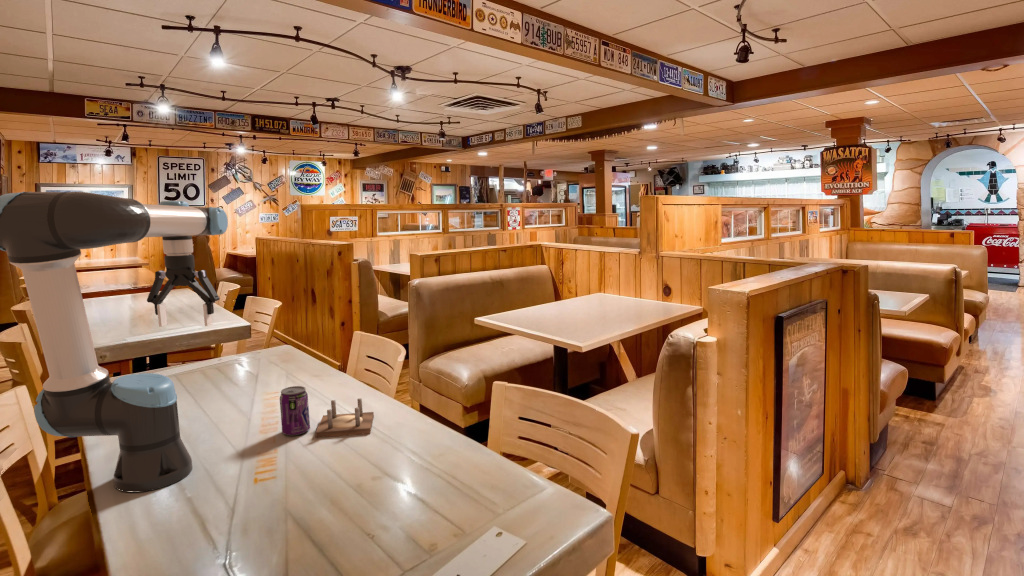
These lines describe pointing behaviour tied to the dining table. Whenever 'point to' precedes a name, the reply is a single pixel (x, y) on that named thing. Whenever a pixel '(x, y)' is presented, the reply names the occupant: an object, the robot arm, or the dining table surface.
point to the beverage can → (294, 410)
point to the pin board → (345, 422)
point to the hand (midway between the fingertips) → (185, 325)
